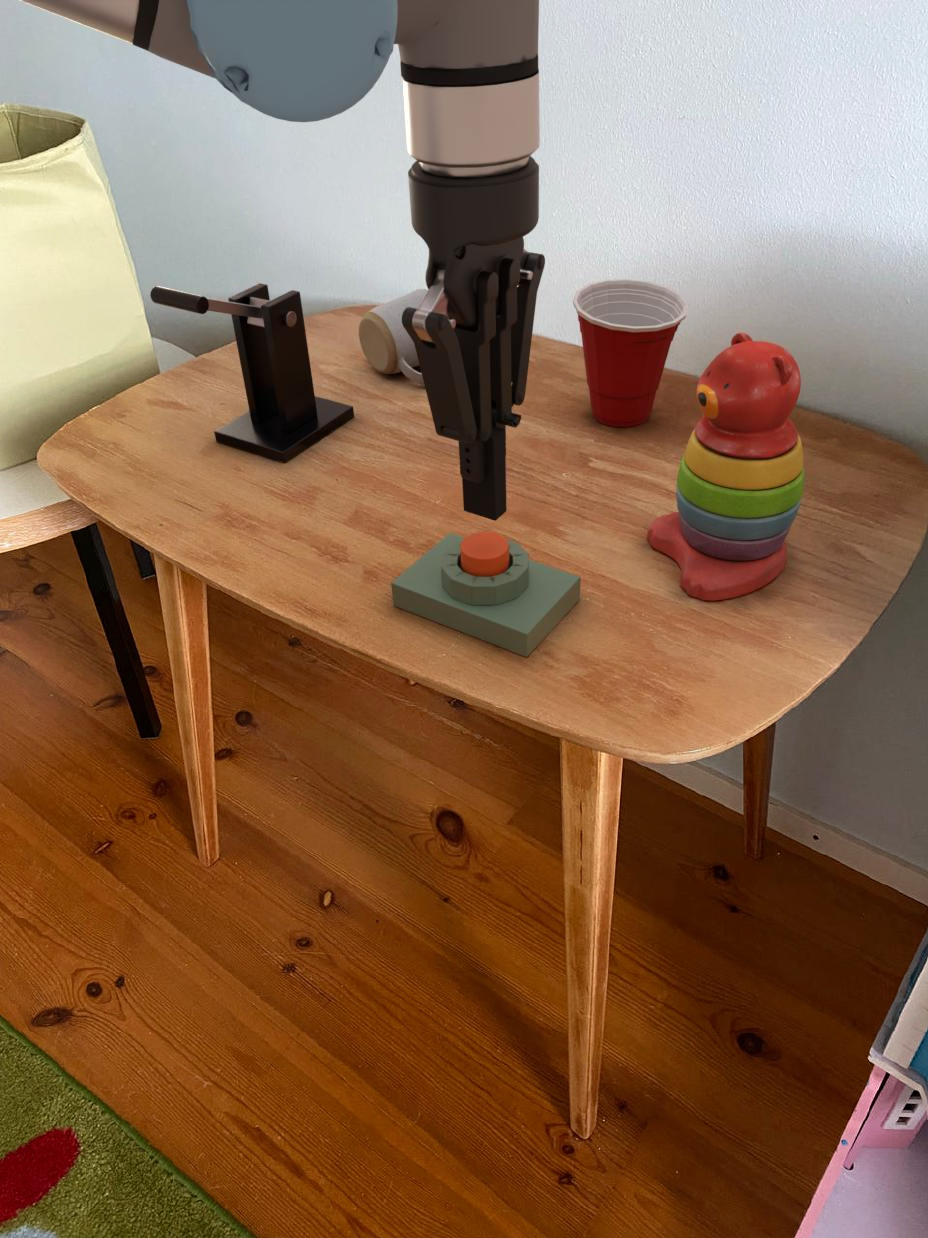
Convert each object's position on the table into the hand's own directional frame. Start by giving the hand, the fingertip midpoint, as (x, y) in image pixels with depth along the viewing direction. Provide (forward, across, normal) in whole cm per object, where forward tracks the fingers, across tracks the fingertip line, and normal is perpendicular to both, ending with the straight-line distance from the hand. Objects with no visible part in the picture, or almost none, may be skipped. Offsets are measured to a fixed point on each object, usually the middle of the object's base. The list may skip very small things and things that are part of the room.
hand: (485, 510), depth 71 cm
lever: (-5, -9, -33) cm, 34 cm away
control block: (+8, 0, 0) cm, 8 cm away
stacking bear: (+9, -15, +13) cm, 22 cm away
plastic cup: (+9, -33, -5) cm, 35 cm away
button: (+5, 0, 0) cm, 5 cm away
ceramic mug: (+9, -32, -30) cm, 45 cm away
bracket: (+8, -14, -33) cm, 37 cm away
